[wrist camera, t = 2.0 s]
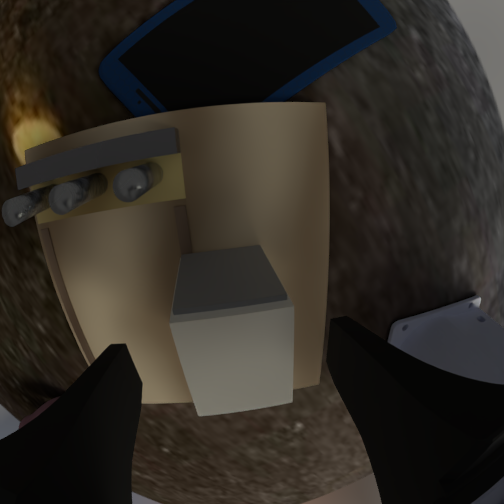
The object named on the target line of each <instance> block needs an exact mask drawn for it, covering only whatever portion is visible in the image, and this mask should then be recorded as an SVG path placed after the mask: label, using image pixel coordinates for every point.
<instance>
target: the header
mask: <svg viewBox="0 0 504 504" xmlns="http://www.w3.org/2000/svg"><path fill="white" fill-rule="evenodd" d="M177 153H181V150H180V139H179V129H177V128H175V127H172V128H166V129H160V130H154V131H148V132H143V133H138V134H133V135H128V136H123V137H119V138H114V139H110V140H106V141H102V142H98V143H94V144H90V145H86V146H82V147H79V148H75V149H72V150H68V151H65V152H62V153H58V154H55V155H52V156H49V157H46V158H43V159H40V160H37V161H34V162H31V163H29V164H26V165H23V166H20V167H18V168H15V172H16V179H17V186H18V190H21V189H24V188H27V187H30V186H33V185H36V184H40V183H43V182H46V181H50V180H53V179H57V178H60V177H64V176H68V175H72V174H76V173H80V172H84V171H88V170H92V169H96V168H101V167H105V166H110V165H114V164H119V163H124V162H129V161H135V160H140V159H146V158H152V157H158V156H164V155H170V154H177ZM162 178H163V170H162V168H161V166H160V165H159V164H157V163H154V162H150V163H146V164H142V165H139V166H135V167H132V168H128V169H125V170H122V171H120V172H119V173H118V174H117V175H116V176H115V178H114V180H113V192H114V194H115V196H116V197H117V198H118V199H119V200H121V201H123V202H133V201H135V200H137V199H138V198H139V197H141V196H142V195H143V194H145V193H146V192H148V191H149V190H150V189H152V188H153V187H155V186H156V185H157V184H159V183H160V182H161V180H162ZM107 187H108V181H107V178H106V177H105V176H104V175H103V174H101V173H95V174H91V175H88V176H84V177H81V178H78V179H74V180H71V181H68V182H65V183H62V184H59V185H55V184H51V185H48V186H45V187H42V188H39V189H36V190H33V191H30V192H27V193H25V194H22V195H19V196H17V197H14V198H11V199H9V200H7V201H5V202H4V204H3V207H2V216H3V219H4V221H5V223H6V224H7V225H8V226H11V227H13V226H16V225H17V224H19V223H21V222H23V221H25V220H27V219H29V218H31V217H33V216H35V215H37V214H38V213H40V212H43V211H45V210H47V209H49V208H51V209H52V211H53V212H54V213H56V214H58V215H64V214H66V213H68V212H70V211H72V210H74V209H75V208H77V207H79V206H81V205H83V204H85V203H87V202H89V201H91V200H93V199H95V198H96V197H98V196H100V195H102V194H104V193H105V192H106V190H107Z"/></svg>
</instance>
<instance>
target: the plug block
mask: <svg viewBox="0 0 504 504" xmlns="http://www.w3.org/2000/svg"><path fill="white" fill-rule="evenodd" d="M169 324H170V328H171V332H172V335H173V339H174V342H175V346H176V349H177V352H178V356H179V359H180V362H181V366H182V369H183V372H184V375H185V378H186V381H187V384H188V387H189V390H190V393H191V396H192V399H193V402H194V405H195V407H196V410H197V413H198V416H207V415H217V414H225V413H233V412H240V411H247V410H253V409H259V408H265V407H271V406H276V405H281V404H286V403H291V402H292V399H293V367H294V305H293V303H292V301H291V299H290V298H289V296H288V294H287V292H286V290H285V289H284V287H283V285H282V283H281V281H280V279H279V278H278V276H277V274H276V272H275V270H274V269H273V267H272V265H271V263H270V261H269V260H268V258H267V256H266V254H265V253H264V251H263V249H262V247H261V246H260V245H254V246H246V247H238V248H230V249H222V250H215V251H207V252H199V253H191V254H183V255H181V258H180V263H179V268H178V273H177V279H176V285H175V290H174V296H173V302H172V308H171V315H170V321H169Z"/></svg>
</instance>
